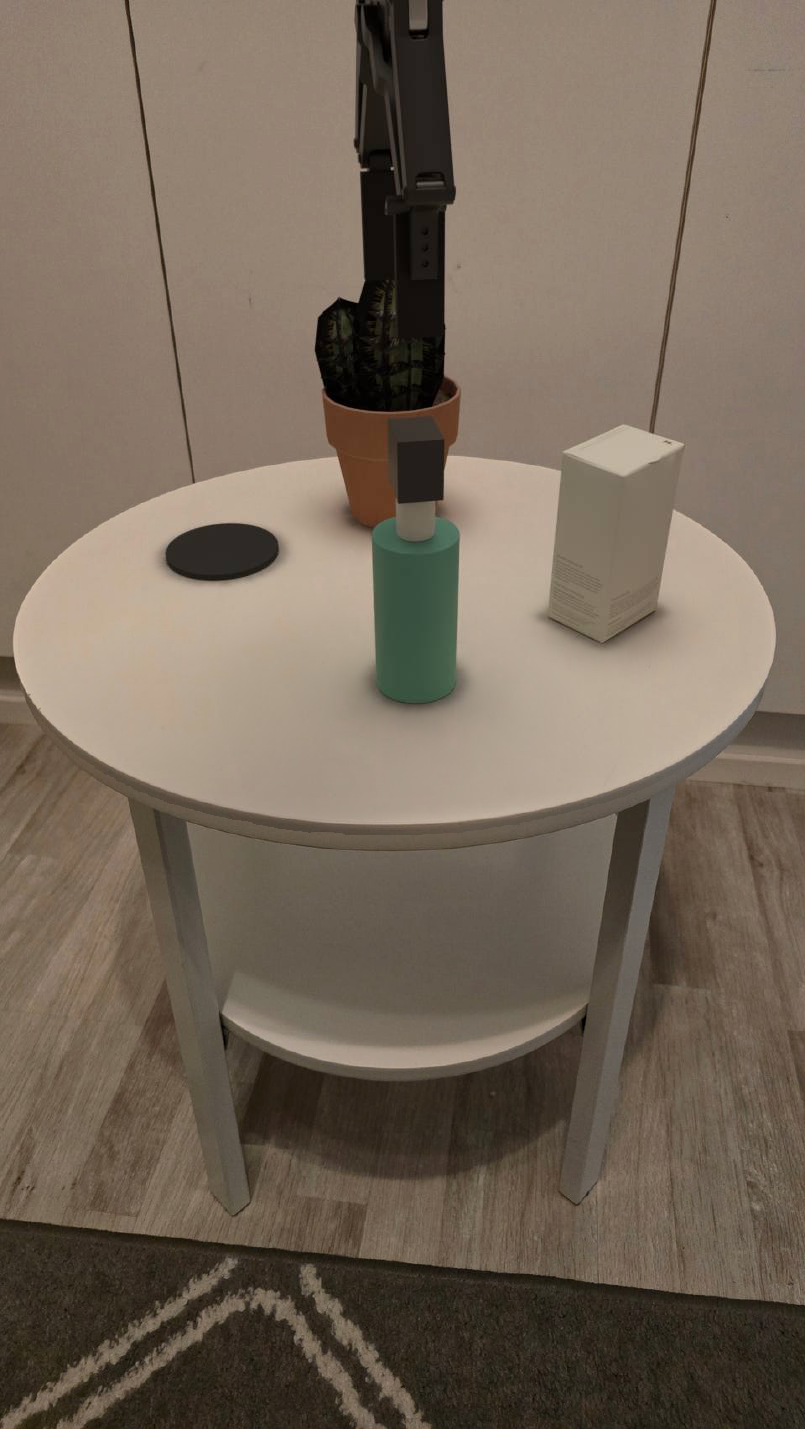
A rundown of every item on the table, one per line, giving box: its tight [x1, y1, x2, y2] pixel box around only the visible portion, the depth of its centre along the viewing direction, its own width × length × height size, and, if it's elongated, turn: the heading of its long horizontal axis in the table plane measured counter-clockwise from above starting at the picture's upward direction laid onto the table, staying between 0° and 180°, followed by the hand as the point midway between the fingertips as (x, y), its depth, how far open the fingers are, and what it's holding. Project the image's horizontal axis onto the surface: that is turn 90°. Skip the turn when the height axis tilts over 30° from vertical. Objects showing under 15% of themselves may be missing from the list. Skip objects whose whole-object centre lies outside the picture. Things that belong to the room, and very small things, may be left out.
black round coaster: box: [164, 522, 280, 581], centre depth 97 cm, size 11×11×1 cm
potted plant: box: [314, 279, 462, 529], centre depth 96 cm, size 14×14×25 cm
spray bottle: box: [371, 416, 461, 704], centre depth 73 cm, size 7×6×21 cm
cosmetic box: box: [547, 423, 685, 644], centre depth 82 cm, size 8×7×16 cm
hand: (400, 305), depth 62 cm, fingers open, 13 cm apart
